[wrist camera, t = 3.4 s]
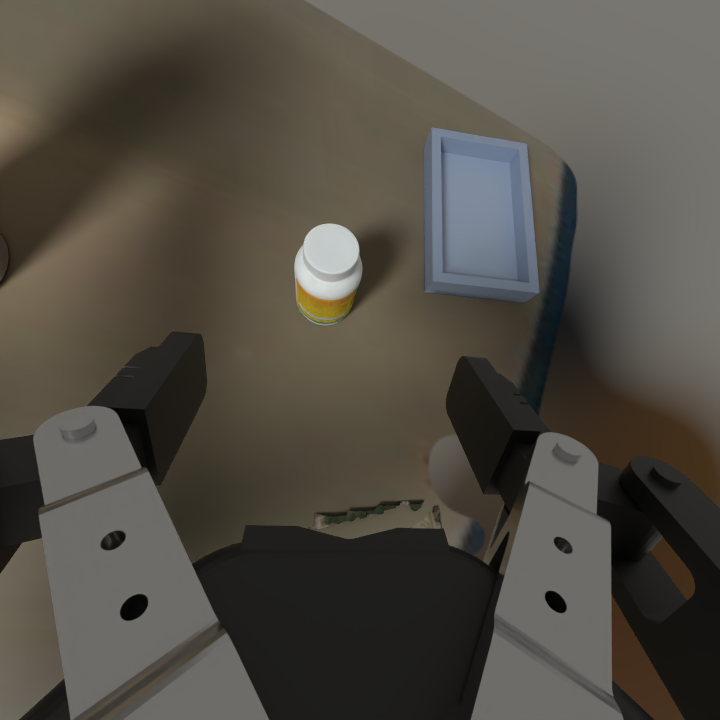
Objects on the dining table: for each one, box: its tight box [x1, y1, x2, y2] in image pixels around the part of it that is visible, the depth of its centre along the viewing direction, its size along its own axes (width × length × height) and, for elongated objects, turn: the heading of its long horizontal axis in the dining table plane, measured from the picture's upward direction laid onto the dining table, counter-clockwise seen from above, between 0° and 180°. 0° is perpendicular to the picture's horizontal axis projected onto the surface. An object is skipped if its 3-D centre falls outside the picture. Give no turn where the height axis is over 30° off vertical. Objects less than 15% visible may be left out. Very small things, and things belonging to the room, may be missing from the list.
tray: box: [424, 128, 540, 303], centre depth 38 cm, size 18×11×2 cm, turn 177°
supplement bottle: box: [294, 224, 363, 325], centre depth 30 cm, size 5×5×10 cm
